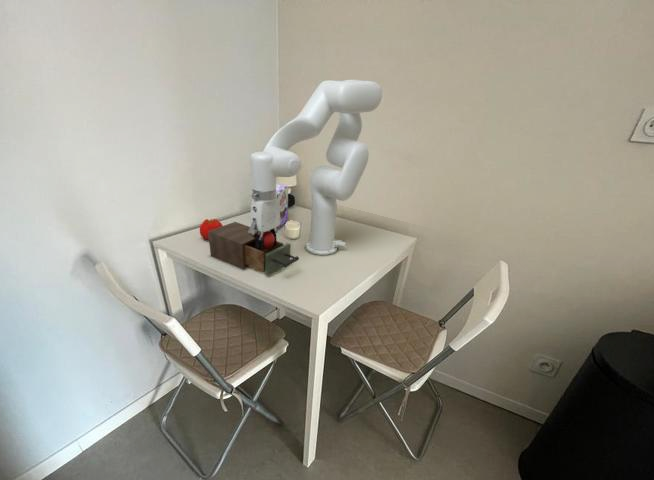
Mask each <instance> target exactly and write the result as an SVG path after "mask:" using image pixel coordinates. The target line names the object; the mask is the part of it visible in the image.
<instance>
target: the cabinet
mask: <svg viewBox="0 0 654 480" xmlns="http://www.w3.org/2000/svg"><path fill="white" fill-rule="evenodd" d="M249 228H250V225H246V224H243V223H240V222H238V221H233V222H230V223H228V224H224V225H223V226H222V227H219V228H216V229H213V230H210V231H208V236H209V240H208V244H209V251H210V256H211V257H212V258H215V259H217V260H218V261H221V262H224V263H226V264H229V265H231V266H234V267H236V268H238V269H241V270H246V269H248V268H251V267H250V266H247V265H245V255H244V245H247V244H249V243H251V242H253V241H255V238H254V237H253V236H252V235H251V234H249V233H248V230H249ZM259 233H260V232H258V234H259Z"/></svg>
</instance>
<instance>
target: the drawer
mask: <svg viewBox="0 0 654 480" xmlns="http://www.w3.org/2000/svg"><path fill="white" fill-rule="evenodd" d="M291 247H292V246H291V243H289V242H287V243H285V244H284V243H283V242H281V241H278V240H276V244H273V245H272V246H271V248H270V249H264V250H263V251H261V250H259V249H256V245H255V241H253V242H251V243H249V244H247V245H244V255H245V265H247V266H250V267H249V268H252V269H255V270H258V271H259V272H262V273H265V276H266V277H269V276H272V275H274V274H275V273H277V272H279V271H281V270H283V269H284V268H287V267H289V266H291V265H292V264H294V263H295V262H298V261H299V260H300V257H299V256H298V255H297V256H296V255H295V256H294V255H292V254H291Z"/></svg>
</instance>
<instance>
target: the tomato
mask: <svg viewBox="0 0 654 480" xmlns="http://www.w3.org/2000/svg"><path fill="white" fill-rule="evenodd" d="M222 226H224V225H223V224H222V222H220V221H219V220H218V219H217V218H212V219H207V218H206V219H205V220H204V221H203V222H202V223H201V224H200V225H199V234H200V237H202V238H203V239H204V240H208V241H209V236H208V231H210V230H213V229H216V228H219V227H222Z"/></svg>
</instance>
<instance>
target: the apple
mask: <svg viewBox="0 0 654 480" xmlns="http://www.w3.org/2000/svg"><path fill="white" fill-rule="evenodd" d="M258 235H259V234H258ZM262 239H263V241H264V249H270V248H271V246H272V245H273V244H274V242H275V237H274V235H273V233H272V232H270V231H266V232H263V236H262Z"/></svg>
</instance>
